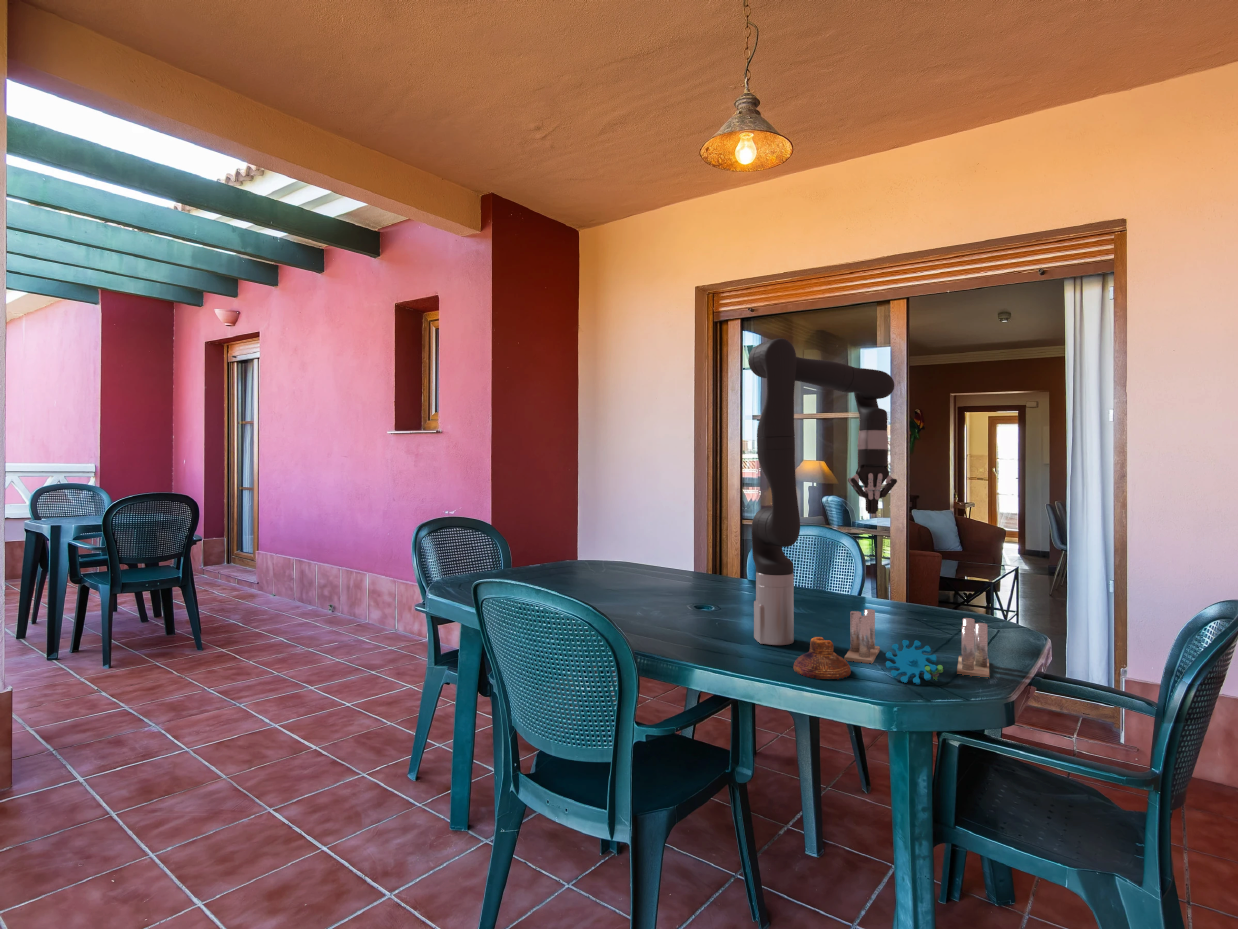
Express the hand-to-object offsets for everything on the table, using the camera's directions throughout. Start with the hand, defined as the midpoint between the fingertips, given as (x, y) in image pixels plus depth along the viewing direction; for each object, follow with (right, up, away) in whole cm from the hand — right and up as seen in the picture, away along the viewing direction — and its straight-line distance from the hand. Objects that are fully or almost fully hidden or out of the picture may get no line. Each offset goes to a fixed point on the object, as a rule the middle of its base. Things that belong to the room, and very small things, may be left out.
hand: (871, 513), depth 184 cm
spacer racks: (0, -31, -27) cm, 41 cm away
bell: (-23, -32, -34) cm, 52 cm away
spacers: (0, -31, -27) cm, 41 cm away
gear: (-6, -32, -40) cm, 52 cm away
